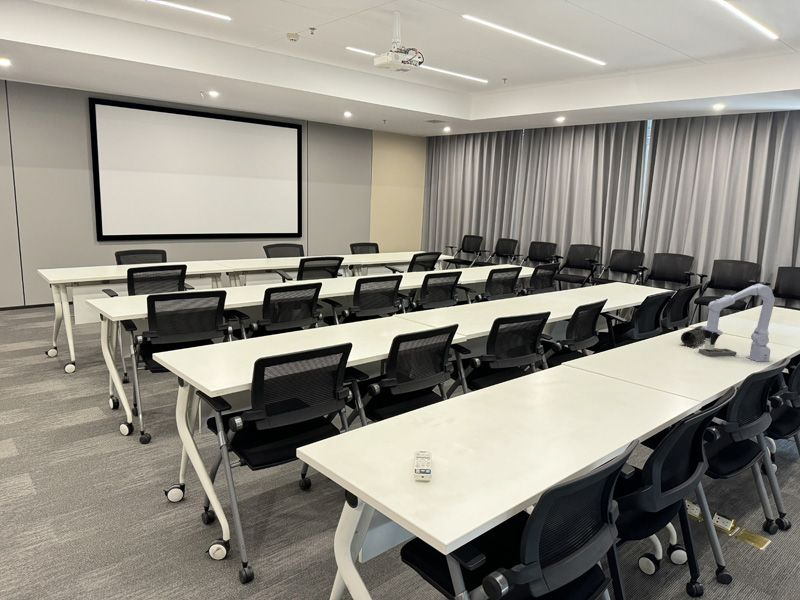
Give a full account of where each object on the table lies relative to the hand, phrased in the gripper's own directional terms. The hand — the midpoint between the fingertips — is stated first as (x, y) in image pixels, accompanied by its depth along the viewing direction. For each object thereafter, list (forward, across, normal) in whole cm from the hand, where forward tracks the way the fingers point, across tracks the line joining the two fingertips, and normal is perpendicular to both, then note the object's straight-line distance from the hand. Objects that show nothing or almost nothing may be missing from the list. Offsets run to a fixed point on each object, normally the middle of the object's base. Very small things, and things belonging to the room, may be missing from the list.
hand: (709, 343), depth 319 cm
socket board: (+7, 0, +6) cm, 9 cm away
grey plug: (+3, 0, 0) cm, 3 cm away
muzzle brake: (+7, -25, +11) cm, 28 cm away
